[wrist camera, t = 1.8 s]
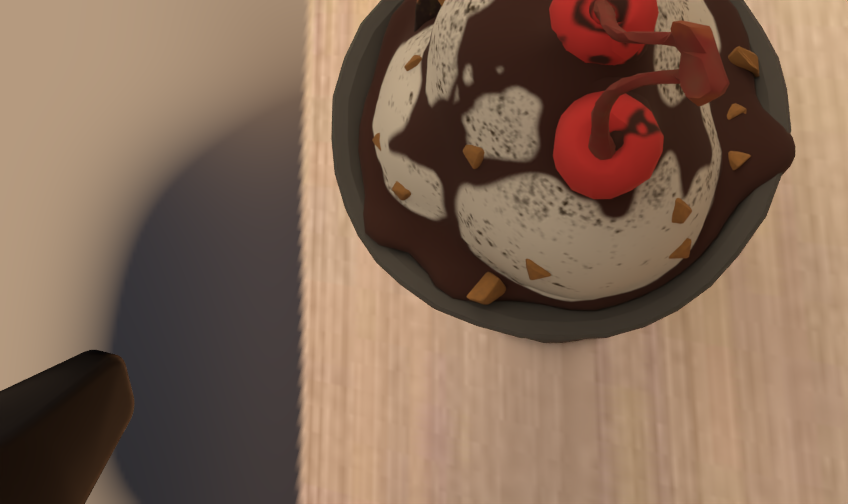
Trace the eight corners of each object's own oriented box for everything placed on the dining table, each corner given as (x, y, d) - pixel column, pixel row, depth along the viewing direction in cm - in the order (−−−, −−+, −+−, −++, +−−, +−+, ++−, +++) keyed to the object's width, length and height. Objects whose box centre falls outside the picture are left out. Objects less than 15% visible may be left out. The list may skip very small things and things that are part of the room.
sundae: (641, 411, 20) (874, 404, 5) (402, 328, 21) (65, 145, 7) (712, 176, 21) (1076, -385, 6) (478, 114, 22) (325, -454, 8)
